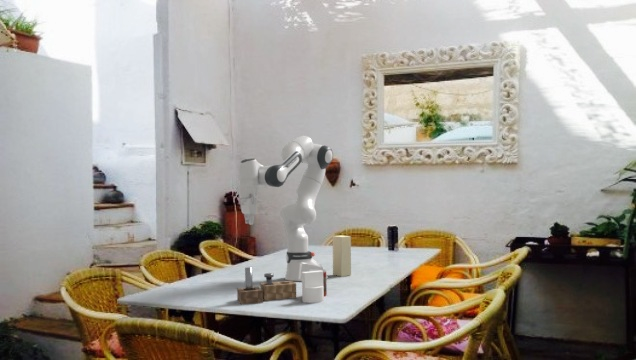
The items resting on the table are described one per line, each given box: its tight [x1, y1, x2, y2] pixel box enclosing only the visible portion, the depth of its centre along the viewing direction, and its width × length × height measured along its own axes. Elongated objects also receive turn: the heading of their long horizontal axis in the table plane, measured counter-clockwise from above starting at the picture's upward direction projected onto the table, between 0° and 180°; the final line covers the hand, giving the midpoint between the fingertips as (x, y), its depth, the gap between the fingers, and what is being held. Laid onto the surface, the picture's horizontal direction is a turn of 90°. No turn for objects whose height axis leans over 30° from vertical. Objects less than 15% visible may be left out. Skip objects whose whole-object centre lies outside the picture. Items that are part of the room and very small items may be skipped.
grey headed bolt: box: [263, 272, 274, 285], centre depth 226 cm, size 4×4×8 cm
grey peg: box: [244, 266, 254, 291], centre depth 220 cm, size 3×3×14 cm
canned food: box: [309, 268, 328, 297], centre depth 230 cm, size 8×8×11 cm
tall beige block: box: [332, 234, 352, 277], centre depth 282 cm, size 8×7×21 cm
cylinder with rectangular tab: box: [301, 270, 325, 304], centre depth 220 cm, size 9×9×12 cm
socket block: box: [259, 280, 297, 301], centre depth 227 cm, size 14×8×6 cm, turn 108°
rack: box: [236, 286, 264, 305], centre depth 220 cm, size 9×9×5 cm
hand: (249, 224), depth 240 cm, fingers open, 8 cm apart
